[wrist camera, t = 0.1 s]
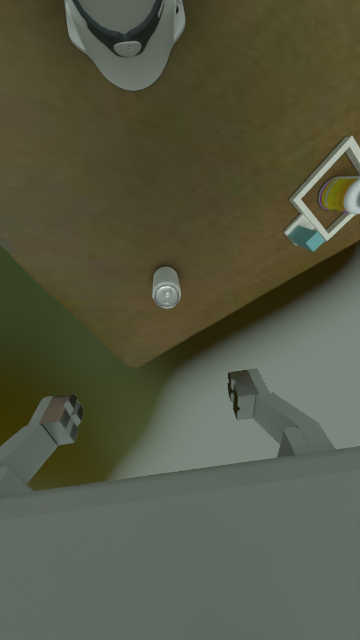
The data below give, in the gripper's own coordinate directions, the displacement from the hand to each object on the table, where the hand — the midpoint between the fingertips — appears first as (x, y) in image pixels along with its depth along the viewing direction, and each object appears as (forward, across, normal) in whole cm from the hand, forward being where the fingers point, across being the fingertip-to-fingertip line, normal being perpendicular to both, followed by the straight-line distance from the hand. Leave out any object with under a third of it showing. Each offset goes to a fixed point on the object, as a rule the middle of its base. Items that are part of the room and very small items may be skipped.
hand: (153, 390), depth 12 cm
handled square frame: (+48, -39, -1) cm, 62 cm away
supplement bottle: (+48, -41, -3) cm, 63 cm away
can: (+48, 0, +12) cm, 50 cm away
